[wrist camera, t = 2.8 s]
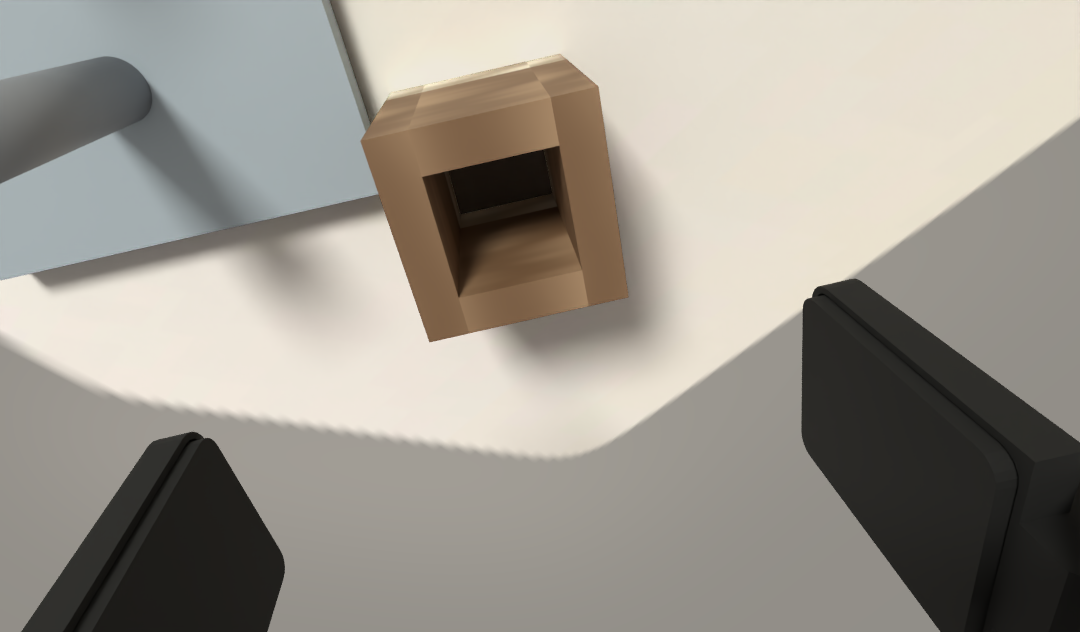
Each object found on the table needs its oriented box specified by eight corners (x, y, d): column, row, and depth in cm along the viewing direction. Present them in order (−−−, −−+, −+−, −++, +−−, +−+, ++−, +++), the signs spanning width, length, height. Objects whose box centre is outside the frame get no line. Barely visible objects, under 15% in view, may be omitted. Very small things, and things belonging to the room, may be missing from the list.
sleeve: (560, 53, 21) (598, 86, 15) (587, 215, 24) (628, 297, 18) (390, 92, 21) (360, 141, 15) (438, 249, 24) (429, 342, 18)
